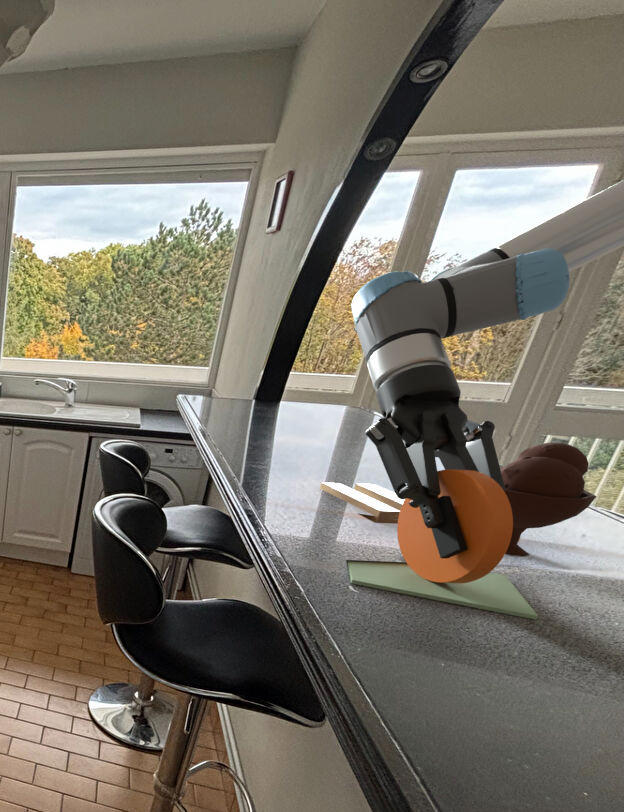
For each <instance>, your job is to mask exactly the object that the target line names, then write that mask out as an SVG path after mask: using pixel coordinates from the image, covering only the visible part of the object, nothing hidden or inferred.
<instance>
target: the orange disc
mask: <svg viewBox="0 0 624 812" xmlns="http://www.w3.org/2000/svg"><path fill="white" fill-rule="evenodd" d="M437 472H438V478H439V485H440V491H441V494H440V495H438V497H439V498H440V497H442V496H450V498H451V501H452V504H453V507H454V510H455V513H456V516H457V519H458V522H459V525H460V528H461V531H462V534H463V537H464V540H465V543H466V546H467V549H468V550H465V551H463V552H461V553H459V554H457V555H454V556H452V557H450V558H440V555H439V551H438V548H437V545H436V542H435V539H434V535H433V532H432V529H431V528H427V526H426V525H425V523H424V519H423V516H422V514H421V510H420V507H418V508H413V507H411V506H410V505H409V502H410V501H412V500H411V499H408V498H406V499H405V500H404V502H403V505H402V507H401V510H400V513H399V518H397V519H398V524H397V528H396V529H397V530H396V533H397V542H398V546H399V549H400V553H401V555H402V558H403V559H404V562H406V563H407V564H408V565H409V567H410V568H411V569H412V570H413V571H414V572H415V573H416V574H418V575H419V576H420V577H422V578H424V579H426V580H429V581H432V582H438V583H469V582H472V581H475V580H478V579H480V578H482V577H484V576H485V575H487V574H488V573H490V572H491V573H492V572H493V570H495V569H496V567H497V566H498V565H500V563H501V561H502V560H503V558H504V557H505V556H506V554H505V553H506V551H507V549H508V546H509V544H510V540H511V536H512V530H513V515H512V509H511V506H510V502H509V500H508V498H507V495H506V494H505V492H504V490H503V489H502V488H501V486H500V485H499V484H498V483H497V482H496V481H495V480H494V479H492V478H491V477H489V476H488V475H485V474H483V473H481V472H477V471H473V470H451V469H450V470H445V469H441V470H437Z"/></svg>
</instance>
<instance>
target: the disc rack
mask: <svg viewBox="0 0 624 812" xmlns="http://www.w3.org/2000/svg"><path fill="white" fill-rule="evenodd" d="M319 489H320V490H322V491H324V492H326V493H328V494H330V495H332V496H334V497H335V498H338V499H340V500H342V501H344V502H346V503H348V504H349V505H352V506H354V507H356V508H358V509H359V510H362V511H364V512H366V513H367V514H365V513H356V514H357V515H359V516H361V517H363V518H365V519H367V520H369V521H371V522H373V523H374V524H397V525H398V518H399V513H400V510H401V507H402V505H403V502H404V500H405V499H404V500H403V499H399V498H398V497H397V496H396V494H395V491H391V490H389V489H387V488H384V487H382V486H379V485H378V484H375V483H355V485H354V488H352V487H349V486H347V485H345V484H342V483H340V482H320V486H319Z"/></svg>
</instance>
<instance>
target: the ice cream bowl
mask: <svg viewBox="0 0 624 812" xmlns="http://www.w3.org/2000/svg"><path fill="white" fill-rule="evenodd" d="M518 454H519V455H518V456H517V459H516V460H514V461H510V462H509V463H507V464H506V465H503V466H500V470H501V474H502V478H503V481H504V485H505V494H506V495H507V498H508V500H509V502H510V506H511V509H512V515H513V530H512V536H511V540H510V544H509V546H508V549H507V551H506V553H505V555H507V556H512V557H527V556H529V555H530V553H529V552H527V551H526V550H525V549H523V548H522V547H521V546H519V544H518V543H519V542H520V538H521V537H522V533H524V532H526V530H527V529H541V528H544V527H549V526H553V525H556V524H559V523H563V522H564V521H567V520H569V519H572V518H575V517H577V516H578V515H580V514H581V513H583V512H584V511H585V510H587V509H588V508H589V507H590V506H591V504H592V503H593V502H594V501H595V499H596V498H597V495H595V494H594V493H591V492H589V491H587V490H585V485H586V482H585V478H584V475H586V474H587V472H588V470H589V461H588V458H587V456H586V455H585V454H584V453H583V451H581V450H580V449H579V448H578V447H575V446H574V445H571V444H569V443H563V442H553V441H552V442H551V441H550V442H544V443H539V444H536V445H533V446H529V447H527V448H526V449H524V450H523V451H521V452H520V453H518Z"/></svg>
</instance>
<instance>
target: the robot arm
mask: <svg viewBox="0 0 624 812" xmlns="http://www.w3.org/2000/svg"><path fill="white" fill-rule="evenodd" d="M622 247H624V179H623V180H620V181H618V182H617V183H615V184H613V185H611V186H609V187H607V188H605V189H603V190H601V191H599V192H597V193H596V194H593V195H591V196H589V197H588V198H586V199H584V200H582V201H580V202H578V203H577V204H574V205H572V206H571V207H569V208H567V209H565V210H563V211H561V212H559V213H557V214H556V215H555V214H554V215H553V216H551V217H550V218H548V219H545V220H544V221H542V222H540V223H538V224H536V225H534V226H532V227H530V228H529V229H526V230H525V231H523V232H520V233H519V234H517V235H515V236H513V237H512V238H510V239H508V240H506V241H503V242H502V243H500V244H498V245H496V246H494V247H493V248H491V249H490V250H488V251H487V250H486V251H485V252H483V253H480V254H479V255H477V256H475V257H473V258H471V259H469V260H467V261H466V262H464V263H462V264H460V265H458V266H455V267H450V268H446V269H444V270H443V271H441V272H438V273H436V274H435V275H433V276H432V277H431V278H429V279H428V280H427V281H424V282H423V281H422V279H420V278H419V276H418V275H417V274H416V273H415V272H412V271H409V270H404V271H397V270H395V271H390V272H386V273H383V274H381V275H378V276H376V277H374V278H373V279H371V280H369V281H367V282H366V283H365V284H364V285H363V286H361V287H360V289H358V290H357V292H355V295H354V296H353V298H352V301H351V305H350V307H351V313H352V317H353V322H354V327H355V328H354V331H355V332H356V334H357V337H358V340H359V343H360V346H361V350H362V352H363V355H364V359H365V361H366V365H367V369H368V372H369V376H370V380H371V383H372V385H373V389H374V390H375V392H376V394H375V396H376V400H377V404H378V407H379V409H380V413H381V416H382V417H380V418H379V419H378V420H377V421H375V422H374V423H373V424H372V425H370V426H369V428H367V429H366V430H365V435H366V437H368V439H369V440H370V441H371V443H372V444H374V446H375V447H376V451H377V452H378V454H379V457H380V460H381V462H382V464H383V467H384V469H385V472H386V474H387V477H388V479H389V481H390V484H391V486H392V489H393V492H394V493H395V494H396V496H397V497H398V498H399V499H403V500H404V499H406V498H408V499H411V500H412V501H410V502H409V505H410V506H411V507H413V508H418V507H420V510H421V514H422V516H423V519H424V523H425V525H426V526H427V528H431V529H432V532H433V535H434V539H435V542H436V545H437V548H438V551H439V555H440V558H450V557H452V556H454V555H457V554H459V553H461V552H463V551H465V550H468V549H467V546H466V543H465V540H464V537H463V534H462V531H461V528H460V525H459V522H458V519H457V516H456V513H455V510H454V507H453V504H452V501H451V498H450V496H442V497H440V498H439V497H438V495H440V494H441V491H440V485H439V478H438V472H437V471H438V466H437V460H436V458H438V459H439V460H440V462H441V465H442V466H443V470H450V469H451V470H473V471H477V472H481V473H483V474H485V475H488V476H489V477H491V478H492V479H494V480H495V481H496V482H497V483H498V484H499V485H500V486H501V488H502V489H503V490H504V492H505V485H504V481H503V478H502V474H501V470H500V467H501V466H500V462H499V459H498V454H497V451H496V446H495V442H494V438H493V437H494V433H495V429H496V428H495V427H496V426H495V424H494V422H492V421H490V420H485V421H483V422H482V423H478V422H474V421H473V420H472V421H471V420H469V419H468V416H467V414H466V412H464V410H462V409H461V407H460V399H461V395H462V393H461V389H460V388H461V387H460V385H459V383H458V380H457V377H456V376H455V373H454V370H453V369H452V364H451V360H450V359H449V355H448V353H447V350H446V348H445V346H444V345H445V344H444V343H443V339H447V338H450V337H452V336H456V335H457V336H458V335H461V334H465V333H469V332H473V331H478V330H482V329H486V328H491V327H495V326H499V325H503V324H507V323H511V322H517V321H520V320H521V321H526V320H527V319H529V318H532V317H535V316H539V315H541V314H542V315H543V314H545V313H550V312H552V311H554V310H556V309H558V308H559V307H560V306H561V305H562V304H564V301H565V299H566V298H567V295H568V293H569V290H570V289H569V288H570V272H572V271H574V270H576V269H578V268H581V267H583V266H585V265H587V264H589V263H591V262H593V261H595V260H598V259H600V258H601V257H603V256H606V255H608V254H610V253H613V252H614V251H617V250H619V249H621V248H622Z"/></svg>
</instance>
